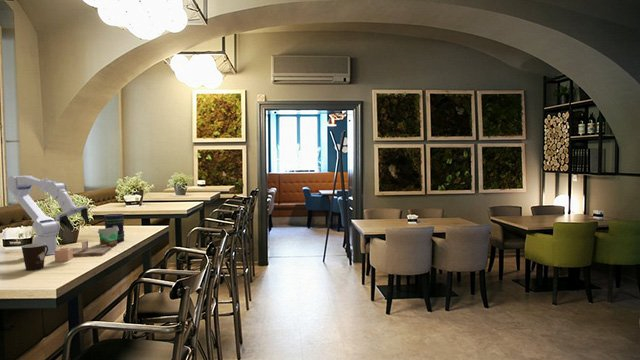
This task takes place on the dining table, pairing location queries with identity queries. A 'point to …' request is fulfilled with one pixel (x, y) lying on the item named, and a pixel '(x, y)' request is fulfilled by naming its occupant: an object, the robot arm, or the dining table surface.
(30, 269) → the coffee mug
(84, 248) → the post
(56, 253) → the collar
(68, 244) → the dining table surface
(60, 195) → the robot arm
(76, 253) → the board
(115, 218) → the storage jar
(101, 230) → the food container
